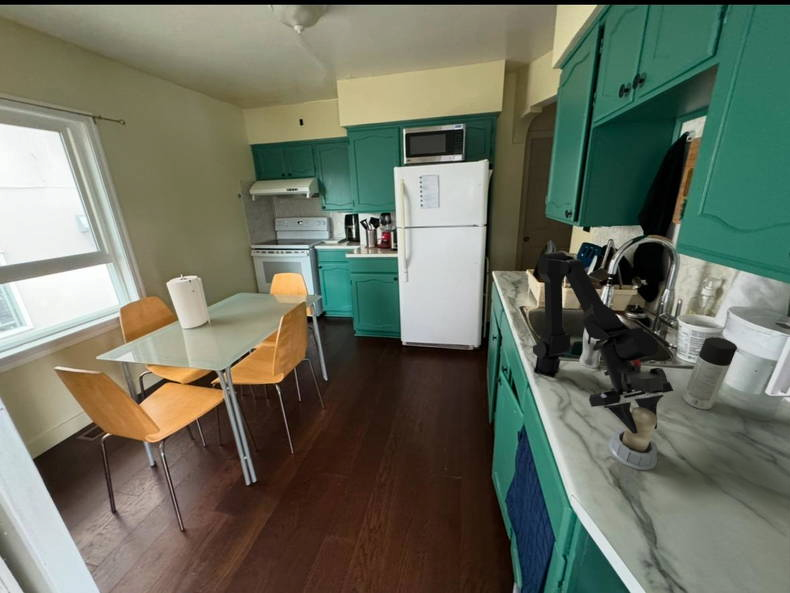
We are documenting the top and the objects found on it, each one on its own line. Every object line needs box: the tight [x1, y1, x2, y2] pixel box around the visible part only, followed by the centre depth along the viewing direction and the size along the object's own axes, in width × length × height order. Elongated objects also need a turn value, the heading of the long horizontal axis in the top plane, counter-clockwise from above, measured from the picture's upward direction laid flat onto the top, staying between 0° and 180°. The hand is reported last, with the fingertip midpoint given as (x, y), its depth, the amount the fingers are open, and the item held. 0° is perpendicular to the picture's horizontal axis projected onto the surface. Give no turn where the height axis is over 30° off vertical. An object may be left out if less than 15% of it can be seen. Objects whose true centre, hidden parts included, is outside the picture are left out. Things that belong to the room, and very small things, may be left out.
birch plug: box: [622, 406, 658, 453], centre depth 84 cm, size 5×5×10 cm
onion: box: [631, 359, 642, 371], centre depth 112 cm, size 6×6×8 cm
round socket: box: [607, 427, 658, 471], centre depth 86 cm, size 10×10×4 cm
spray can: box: [682, 336, 738, 410], centre depth 98 cm, size 7×7×20 cm
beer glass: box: [579, 327, 601, 369], centre depth 117 cm, size 7×7×15 cm
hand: (645, 431), depth 82 cm, fingers closed on birch plug, 5 cm apart
